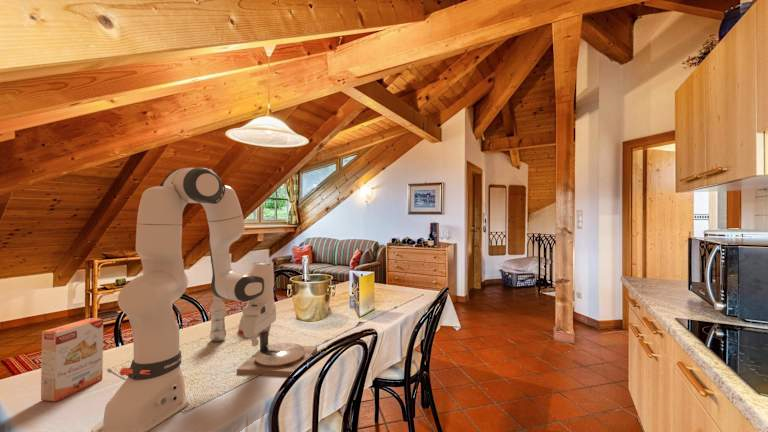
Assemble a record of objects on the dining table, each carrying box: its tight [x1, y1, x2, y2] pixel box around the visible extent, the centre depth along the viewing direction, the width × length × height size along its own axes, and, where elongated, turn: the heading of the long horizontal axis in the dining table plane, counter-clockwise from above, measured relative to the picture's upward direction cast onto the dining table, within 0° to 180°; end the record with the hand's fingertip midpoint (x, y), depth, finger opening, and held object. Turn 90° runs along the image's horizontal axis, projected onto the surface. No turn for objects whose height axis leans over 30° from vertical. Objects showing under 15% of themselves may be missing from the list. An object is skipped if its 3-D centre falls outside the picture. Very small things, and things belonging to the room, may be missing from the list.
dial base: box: [236, 344, 318, 377], centre depth 124 cm, size 22×22×2 cm
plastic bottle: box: [209, 294, 227, 343], centre depth 145 cm, size 6×7×20 cm
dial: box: [254, 331, 305, 367], centre depth 124 cm, size 18×18×8 cm
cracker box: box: [40, 317, 104, 403], centre depth 104 cm, size 14×6×21 cm, turn 170°
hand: (260, 340), depth 125 cm, fingers open, 8 cm apart
